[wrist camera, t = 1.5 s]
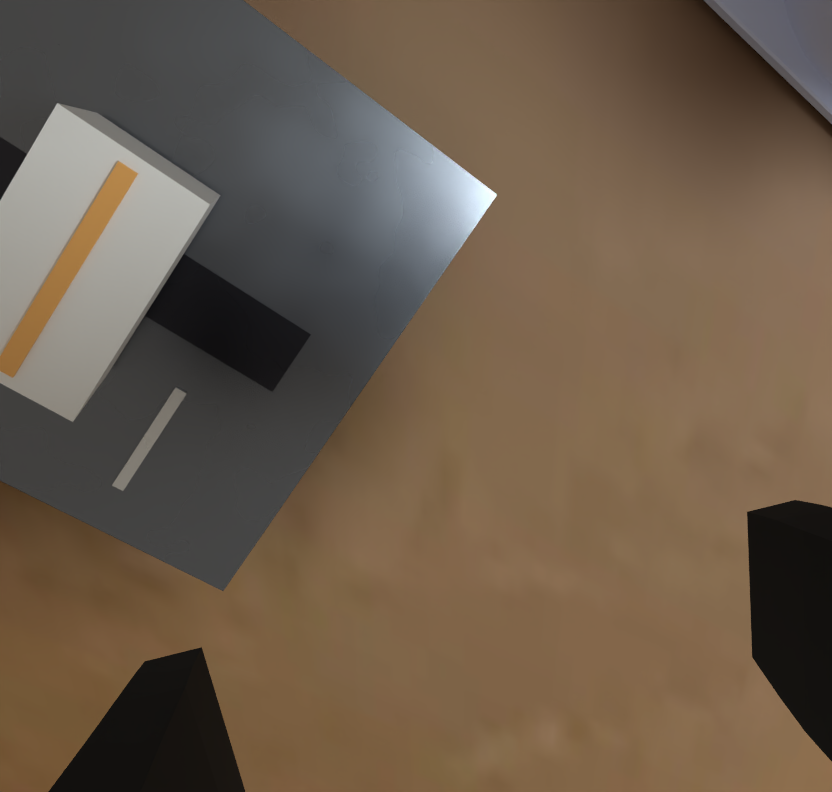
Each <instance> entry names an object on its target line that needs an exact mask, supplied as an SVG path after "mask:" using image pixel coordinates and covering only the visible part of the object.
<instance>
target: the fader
mask: <svg viewBox="0 0 832 792" xmlns="http://www.w3.org/2000/svg"><path fill="white" fill-rule="evenodd" d="M220 196H221V195H219V194H218V193H216V192H215V191H213V190H212V189H210V188H209V187H207V186H206V185H204V184H203V183H201V182H200V181H198V180H197V179H195V178H194V177H192V176H191V175H189V174H188V173H186V172H185V171H183V170H182V169H180V168H179V167H177V166H176V165H174V164H173V163H171V162H170V161H168V160H167V159H165V158H164V157H162V156H161V155H159V154H158V153H156V152H155V151H153V150H152V149H150V148H149V147H147V146H146V145H144V144H143V143H142V142H140V141H139V140H137V139H136V138H134V137H133V136H131V135H130V134H128V133H127V132H125V131H124V130H122V129H121V128H119V127H118V126H116V125H115V124H113V123H112V122H110V121H109V120H107V119H106V118H104V117H103V116H101V115H100V114H98V113H96V112H92V111H88V110H84V109H80V108H75V107H71V106H67V105H63V104H59V103H57V104H56V106H55V108H54V110H53V111H52V113H51V115H50V116H49V118H48V120H47V121H46V123H45V125H44V127H43V128H42V130H41V132H40V133H39V135H38V137H37V139H36V140H35V142H34V144H33V145H32V147H31V149H30V150H29V152H28V154H27V156H26V157H25V159H24V161H23V162H22V164H21V166H20V168H19V169H18V171H17V173H16V174H15V176H14V178H13V179H12V181H11V183H10V185H9V186H8V188H7V190H6V191H5V193H4V195H3V197H2V198H1V200H0V383H1V384H3V385H5V386H6V387H8V388H10V389H12V390H14V391H16V392H18V393H20V394H21V395H23V396H25V397H27V398H29V399H31V400H33V401H34V402H36V403H38V404H40V405H42V406H44V407H46V408H48V409H49V410H51V411H53V412H55V413H57V414H59V415H61V416H63V417H64V418H66V419H68V420H70V421H72V422H73V421H74V420H75V418H76V417H77V416H78V414H79V413H80V412H81V410H82V409H83V407H84V406H85V405H86V403H87V402H88V401H89V399H90V398H91V396H92V395H93V394H94V392H95V391H96V390H97V388H98V387H99V386H100V384H101V383H102V381H103V380H104V379H105V377H106V376H107V374H108V373H109V371H110V370H111V368H112V366H113V365H114V363H115V362H116V360H117V359H118V357H119V355H120V354H121V352H122V351H123V349H124V347H125V346H126V344H127V343H128V341H129V340H130V338H131V336H132V335H133V333H134V332H135V330H136V329H137V327H138V325H139V324H140V322H141V321H142V319H143V317H144V316H145V314H146V313H147V311H148V310H149V308H150V306H151V305H152V303H153V302H154V300H155V298H156V297H157V295H158V294H159V292H160V291H161V289H162V287H163V286H164V284H165V283H166V281H167V280H168V278H169V276H170V275H171V273H172V272H173V270H174V268H175V267H176V265H177V264H178V262H179V261H180V259H181V257H182V256H183V254H184V253H185V251H186V249H187V248H188V246H189V245H190V243H191V242H192V240H193V238H194V237H195V235H196V234H197V232H198V230H199V229H200V227H201V226H202V224H203V223H204V221H205V219H206V218H207V216H208V215H209V213H210V212H211V210H212V208H213V207H214V205H215V204H216V202H217V200H218V199H219V197H220Z"/></svg>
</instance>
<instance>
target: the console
mask: <svg viewBox="0 0 832 792" xmlns="http://www.w3.org/2000/svg"><path fill="white" fill-rule="evenodd" d="M57 103H59V104H63V105H67V106H71V107H75V108H80V109H84V110H88V111H92V112H96V113H98V114H100V115H101V116H103V117H104V118H106V119H107V120H109V121H110V122H112V123H113V124H115V125H116V126H118V127H119V128H121V129H122V130H124V131H125V132H127V133H128V134H130V135H131V136H133V137H134V138H136V139H137V140H139V141H140V142H142V143H143V144H144V145H146V146H147V147H149V148H150V149H152V150H153V151H155V152H156V153H158V154H159V155H161V156H162V157H164V158H165V159H167V160H168V161H170V162H171V163H173V164H174V165H176V166H177V167H179V168H180V169H182V170H183V171H185V172H186V173H188V174H189V175H191V176H192V177H194V178H195V179H197V180H198V181H200V182H201V183H203V184H204V185H206V186H207V187H209V188H210V189H212V190H213V191H215V192H216V193H218V194H219V195H221V196H220V197H219V199H218V200H217V202H216V204H215V205H214V207H213V208H212V210H211V212H210V213H209V215H208V216H207V218H206V219H205V221H204V223H203V224H202V226H201V227H200V229H199V230H198V232H197V234H196V235H195V237H194V238H193V240H192V242H191V243H190V245H189V246H188V248H187V249H186V251H185V253H184V254H183V256H182V257H181V259H180V261H179V262H178V264H177V265H176V267H175V268H174V270H173V272H172V273H171V275H170V276H169V278H168V280H167V281H166V283H165V284H164V286H163V287H162V289H161V291H160V292H159V294H158V295H157V297H156V298H155V300H154V302H153V303H152V305H151V306H150V308H149V310H148V311H147V313H146V314H145V316H144V317H143V319H142V321H141V322H140V324H139V325H138V327H137V329H136V330H135V332H134V333H133V335H132V336H131V338H130V340H129V341H128V343H127V344H126V346H125V347H124V349H123V351H122V352H121V354H120V355H119V357H118V359H117V360H116V362H115V363H114V365H113V366H112V368H111V370H110V371H109V373H108V374H107V376H106V377H105V379H104V380H103V381H102V383H101V384H100V386H99V387H98V388H97V390H96V391H95V392H94V394H93V395H92V396H91V398H90V399H89V401H88V402H87V403H86V405H85V406H84V407H83V409H82V410H81V412H80V413H79V414H78V416H77V417H76V418H75V420H74V421H73V422H72V421H70V420H68V419H66V418H64V417H63V416H61V415H59V414H57V413H55V412H53V411H51V410H49V409H48V408H46V407H44V406H42V405H40V404H38V403H36V402H34V401H33V400H31V399H29V398H27V397H25V396H23V395H21V394H20V393H18V392H16V391H14V390H12V389H10V388H8V387H6V386H5V385H3V384H1V383H0V481H2V482H4V483H6V484H8V485H10V486H12V487H14V488H16V489H18V490H20V491H22V492H24V493H26V494H28V495H30V496H32V497H34V498H36V499H38V500H40V501H42V502H44V503H46V504H48V505H50V506H52V507H54V508H56V509H58V510H60V511H62V512H64V513H66V514H69V515H71V516H73V517H75V518H77V519H79V520H81V521H83V522H85V523H87V524H89V525H91V526H93V527H95V528H97V529H99V530H101V531H103V532H105V533H107V534H109V535H111V536H113V537H115V538H117V539H119V540H121V541H123V542H125V543H127V544H129V545H131V546H133V547H135V548H137V549H139V550H141V551H143V552H145V553H147V554H149V555H151V556H153V557H155V558H157V559H159V560H161V561H163V562H165V563H167V564H169V565H171V566H173V567H175V568H178V569H180V570H182V571H184V572H186V573H188V574H190V575H192V576H194V577H196V578H198V579H200V580H202V581H204V582H206V583H208V584H210V585H212V586H214V587H216V588H218V589H220V590H222V591H224V589H225V588H226V586H227V585H228V583H229V582H230V580H231V579H232V578H233V576H234V575H235V573H236V572H237V570H238V569H239V567H240V566H241V565H242V563H243V562H244V560H245V559H246V557H247V556H248V554H249V553H250V551H251V550H252V549H253V547H254V546H255V544H256V543H257V541H258V540H259V538H260V537H261V536H262V534H263V533H264V531H265V530H266V528H267V527H268V525H269V524H270V523H271V521H272V520H273V518H274V517H275V515H276V514H277V512H278V511H279V510H280V508H281V507H282V505H283V504H284V502H285V501H286V499H287V498H288V497H289V495H290V494H291V492H292V491H293V489H294V488H295V486H296V485H297V483H298V482H299V481H300V479H301V478H302V476H303V475H304V473H305V472H306V470H307V469H308V468H309V466H310V465H311V463H312V462H313V460H314V459H315V457H316V456H317V455H318V453H319V452H320V450H321V449H322V447H323V446H324V444H325V443H326V442H327V440H328V439H329V437H330V436H331V434H332V433H333V431H334V430H335V429H336V427H337V426H338V424H339V423H340V421H341V420H342V418H343V417H344V416H345V414H346V413H347V411H348V410H349V408H350V407H351V405H352V404H353V402H354V401H355V400H356V398H357V397H358V395H359V394H360V392H361V391H362V389H363V388H364V387H365V385H366V384H367V382H368V381H369V379H370V378H371V376H372V375H373V374H374V372H375V371H376V369H377V368H378V366H379V365H380V363H381V362H382V361H383V359H384V358H385V356H386V355H387V353H388V352H389V350H390V349H391V348H392V346H393V345H394V343H395V342H396V340H397V339H398V337H399V336H400V334H401V333H402V332H403V330H404V329H405V327H406V326H407V324H408V323H409V321H410V320H411V319H412V317H413V316H414V314H415V313H416V311H417V310H418V308H419V307H420V306H421V304H422V303H423V301H424V300H425V298H426V297H427V295H428V294H429V293H430V291H431V290H432V288H433V287H434V285H435V284H436V282H437V281H438V280H439V278H440V277H441V275H442V274H443V272H444V271H445V269H446V268H447V267H448V265H449V264H450V262H451V261H452V259H453V258H454V256H455V255H456V253H457V252H458V251H459V249H460V248H461V246H462V245H463V243H464V242H465V240H466V239H467V238H468V236H469V235H470V233H471V232H472V230H473V229H474V227H475V226H476V225H477V223H478V222H479V220H480V219H481V217H482V216H483V214H484V213H485V212H486V210H487V209H488V207H489V206H490V204H491V203H492V201H493V200H494V199H495V197H496V196H497V194H496V193H494V192H493V191H492V190H490V189H489V188H488V187H486V186H485V185H484V184H482V183H481V182H480V181H479V180H477V179H476V178H475V177H473V176H472V175H471V174H469V173H468V172H467V171H465V170H464V169H463V168H462V167H460V166H459V165H458V164H456V163H455V162H454V161H452V160H451V159H450V158H448V157H447V156H446V155H445V154H443V153H442V152H441V151H439V150H438V149H437V148H435V147H434V146H433V145H431V144H430V143H429V142H428V141H426V140H425V139H424V138H422V137H421V136H420V135H418V134H417V133H416V132H415V131H413V130H412V129H411V128H409V127H408V126H407V125H405V124H404V123H403V122H401V121H400V120H399V119H398V118H396V117H395V116H394V115H392V114H391V113H390V112H388V111H387V110H386V109H384V108H383V107H382V106H381V105H379V104H378V103H377V102H375V101H374V100H373V99H371V98H370V97H369V96H367V95H366V94H365V93H364V92H362V91H361V90H360V89H358V88H357V87H356V86H354V85H353V84H352V83H350V82H349V81H348V80H347V79H345V78H344V77H343V76H341V75H340V74H339V73H337V72H336V71H335V70H333V69H332V68H331V67H330V66H328V65H327V64H326V63H324V62H323V61H322V60H320V59H319V58H318V57H317V56H315V55H314V54H313V53H311V52H310V51H309V50H307V49H306V48H305V47H303V46H302V45H301V44H300V43H298V42H297V41H296V40H294V39H293V38H292V37H290V36H289V35H288V34H286V33H285V32H284V31H283V30H281V29H280V28H279V27H277V26H276V25H275V24H273V23H272V22H271V21H269V20H268V19H267V18H266V17H264V16H263V15H262V14H260V13H259V12H258V11H256V10H255V9H254V8H252V7H251V6H250V5H249V4H247V3H246V2H245V1H243V0H0V200H1V198H2V197H3V195H4V193H5V191H6V190H7V188H8V186H9V185H10V183H11V181H12V179H13V178H14V176H15V174H16V173H17V171H18V169H19V168H20V166H21V164H22V162H23V161H24V159H25V157H26V156H27V154H28V152H29V150H30V149H31V147H32V145H33V144H34V142H35V140H36V139H37V137H38V135H39V133H40V132H41V130H42V128H43V127H44V125H45V123H46V121H47V120H48V118H49V116H50V115H51V113H52V111H53V110H54V108H55V106H56V104H57Z"/></svg>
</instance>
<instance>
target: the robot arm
mask: <svg viewBox="0 0 832 792" xmlns="http://www.w3.org/2000/svg"><path fill="white" fill-rule="evenodd" d="M704 1H705V2H706V3H707V4H708V5H709V6H710V7H711V8H712V9H713V10H714V11H715V12H716V13H717V14H718V15H719V16H720V17H721V18H722V19H723V20H724V21H725V22H726V23H727V24H728V25H729V26H731V27H732V28H733V29H734V30H735V31H736V32H737V33H738V34H739V35H740V36H741V37H742V38H743V39H744V40H745V41H746V42H747V43H748V44H749V45H750V46H751V47H752V48H753V49H754V50H755V51H756V52H757V53H758V54H760V55H761V56H762V57H763V58H764V59H765V60H766V61H767V62H768V63H769V64H770V65H771V66H772V67H773V68H774V69H775V70H776V71H777V72H778V73H779V74H780V75H781V76H782V77H783V78H784V79H785V80H786V81H788V82H789V83H790V84H791V85H792V86H793V87H794V88H795V89H796V90H797V91H798V92H799V93H800V94H801V95H802V96H803V97H804V98H805V99H806V100H807V101H808V102H809V103H810V104H811V105H812V106H813V107H814V108H815V109H817V110H818V111H819V112H820V113H821V114H822V115H823V116H824V117H825V118H826V119H827V120H828V121H829V122H830V123H831V124H832V0H704ZM747 517H748V546H749V574H750V603H751V631H752V657H753V659H754V660H755V662H756V663H757V665H758V666H759V668H760V669H761V670H762V672H763V673H764V675H765V676H766V678H767V679H768V681H769V682H770V684H771V685H772V686H773V688H774V689H775V691H776V692H777V694H778V695H779V697H780V698H781V699H782V701H783V702H784V703H785V705H786V706H787V708H788V709H789V710H790V712H791V713H792V714H793V716H794V717H795V718H796V720H797V721H798V722H799V724H800V725H801V727H802V728H803V729H804V731H805V732H806V733H807V734H808V735H809V736H810V738H811V739H812V740H813V741H814V742H815V743H816V744H817V745H818V747H819V748H820V749H821V750H822V751H823V752H824V753H825V754H826V755H827V757H828V758H829V759H830V760H831V761H832V507H828V506H823V505H819V504H814V503H808V502H803V501H797V500H794V501H790V502H786V503H782V504H777V505H773V506H769V507H765V508H761V509H757V510H753V511H749V512H747ZM49 792H245V789H244V786H243V783H242V779H241V776H240V773H239V769H238V766H237V763H236V760H235V756H234V753H233V750H232V746H231V743H230V740H229V736H228V733H227V730H226V726H225V723H224V720H223V717H222V713H221V710H220V707H219V703H218V700H217V697H216V693H215V690H214V687H213V684H212V680H211V677H210V674H209V670H208V667H207V664H206V660H205V657H204V654H203V650H202V647H201V648H197V649H193V650H189V651H185V652H181V653H177V654H173V655H169V656H165V657H161V658H157V659H153V660H149V661H145V662H144V663H143V665H142V666H141V667H140V668H139V670H138V671H137V672H136V674H135V675H134V676H133V678H132V679H131V680H130V682H129V683H128V684H127V686H126V687H125V688H124V690H123V691H122V693H121V694H120V695H119V697H118V698H117V700H116V701H115V702H114V704H113V705H112V706H111V708H110V709H109V711H108V712H107V713H106V715H105V716H104V718H103V719H102V720H101V722H100V723H99V725H98V726H97V727H96V729H95V730H94V731H93V733H92V734H91V735H90V737H89V738H88V740H87V741H86V742H85V744H84V745H83V746H82V748H81V749H80V750H79V752H78V753H77V754H76V756H75V757H74V758H73V760H72V761H71V762H70V764H69V765H68V766H67V768H66V769H65V770H64V772H63V773H62V774H61V776H60V777H59V778H58V780H57V781H56V782H55V784H54V785H53V786H52V788H51V789H50V791H49Z"/></svg>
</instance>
